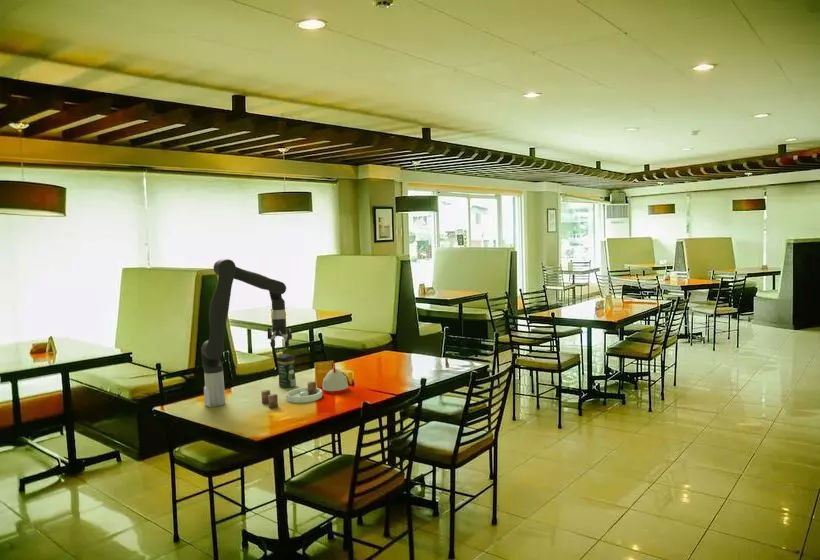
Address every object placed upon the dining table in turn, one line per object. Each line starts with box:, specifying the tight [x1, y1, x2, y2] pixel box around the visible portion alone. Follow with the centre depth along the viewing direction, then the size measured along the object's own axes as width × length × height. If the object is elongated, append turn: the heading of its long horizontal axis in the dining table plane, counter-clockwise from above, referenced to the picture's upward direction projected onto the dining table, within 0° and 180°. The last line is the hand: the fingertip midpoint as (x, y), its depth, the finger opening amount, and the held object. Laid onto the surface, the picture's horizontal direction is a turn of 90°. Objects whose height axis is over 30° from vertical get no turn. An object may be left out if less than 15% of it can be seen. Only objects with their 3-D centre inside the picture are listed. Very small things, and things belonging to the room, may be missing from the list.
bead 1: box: [261, 389, 271, 405], centre depth 290 cm, size 4×4×6 cm
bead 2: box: [307, 381, 317, 395], centre depth 299 cm, size 4×4×6 cm
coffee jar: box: [277, 353, 297, 389], centre depth 321 cm, size 10×8×19 cm
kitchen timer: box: [321, 362, 349, 395], centre depth 308 cm, size 14×14×15 cm
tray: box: [285, 386, 323, 404], centre depth 296 cm, size 18×18×3 cm
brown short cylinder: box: [268, 393, 279, 409], centre depth 282 cm, size 4×4×6 cm
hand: (280, 346), depth 312 cm, fingers open, 8 cm apart
